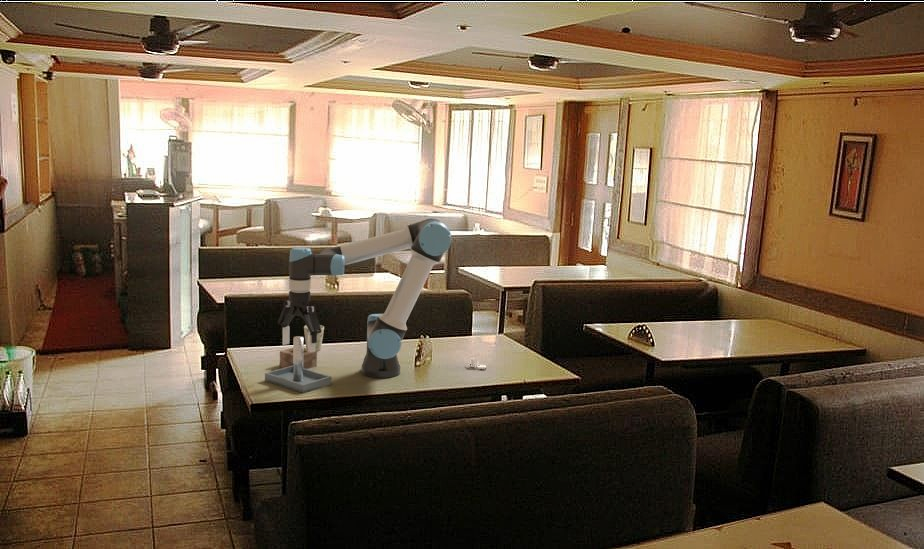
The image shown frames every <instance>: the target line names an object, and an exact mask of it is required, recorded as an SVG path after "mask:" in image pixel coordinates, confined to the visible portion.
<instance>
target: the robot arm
mask: <svg viewBox="0 0 924 549" xmlns="http://www.w3.org/2000/svg"><path fill="white" fill-rule="evenodd" d="M451 243H452V233H451V231H450V229H449V227H448V226H447V225H446V224H444V223H443V222H442V221H441V220H439V219H437V218H426V219H422V220H420V221H417V222H414V223H411V224H408V225H406V226H405V227H404V228H403V229H400V230H395V231H391V232H388V233H384V234H380V235H377V236H372V237H369V238H365V239H361V240H358V241H353V242H350V243H347V244H342V245H339V246H335V247H326V248H324V249H322V250H321V252H320V253H313V252H312V249H311V248H309V247H302V246H298V247H292V248H291V249H290V250H289V260H288V261H289V264H288V265H289V267H288V268H289V276H288V278H289V279H288V280H289V282H288V290H289V292H288V300H285V301H284V302H283V307H282V310H281V312H280V315H279V317H278V320H277V325H279V326H281V335H282V345H283V346H286V345H290V340H291V339H290V333H291V332H290V329H291V328H290V327H291V326H290V323H291V322H292V321H293V319H294V318H295V317H298V318H301V319H302V320H303V321H304V323H305V326H306V325H307V327H308V329H309V331H310V334H309V352H313V351H316V342H317V334H318V333H321V332H322V331H321V328H320V325H321V324H320V322H319V319H318V315H317V312H316V309H317V308H316V306H315V305H311V306H309V302H310V301H311V291H310V290H311V279H312V277H311V275H313V276H315V275H316V276H317V275H318V276H334V277H336V276H344V274H345V266H346V265H352V264H355V263H359V262H362V261H366V260H369V259H374V258H377V257H380V256H385V255H389V254H393V253H396V252H401V251H404V250H407V249H410V252H411V257H410V259H409V261H408V263H407V266H406V267H405V269H404V271H403V274H402V276H401V277H400V280H399V283H398V284H397V286H396V288H395V290H394V292H393V295H392V297H391V298H390V300H389V302H388V305H387V308H386V309H385V311H384V313H372V314H369V315H368V316H367V321H366V324H367V325H366V326H367V327H366V328H367V329H366V330H367V331H366V351H365V352H366V354H365V356H364V358H363V362H362V364H361V370H360V371H361V374H363V375H364V376H367V377H370V378H371V377H372V378H379V379H381V378H393V377H396V376H399V375H400V374H401V365H400V362H399V358H398V354H399V352H400V351H401V348H402V341H403V339H404V337H405V334H406V332H407V330H408V327H407V324H406V323H407V320H408V318H409V317H410V315H411V312H412V310H413V308H415V307H414V306H415V305H416V302H417V300H418V298H419V296H420V294H421V292H422V290H423V288H424V286H425V283H426V282H427V279H428V277H429V276H430V273H431V271H432V269H433V267H434V266H435V265H437V264H440V263H441V261H442V258H443V256H444V254H445V253H446V252H447V251H448V250H449V249H450V246H451ZM313 330H314V331H313Z"/></svg>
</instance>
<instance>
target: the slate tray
mask: <svg viewBox="0 0 924 549" xmlns="http://www.w3.org/2000/svg"><path fill="white" fill-rule="evenodd" d="M332 380H333V378H332V376H330V375H327V374H324V373H321V372H318V371H315V370H311V369H305V368H303V381H299V382H297V381H293V366H289V367H285V368H284V367H281V368H280V369H275V370H271V371H268V372H265V373H264V381H265V382H267V383H269V384H273V385H277V386H279V387H281V388H285V389H289V390H291V391H295V392H298V393H301V394H306V393H309V392H312V391H315V390H318V389H319V390H320V389H321V388H324V387H328V386H332V382H333V381H332Z"/></svg>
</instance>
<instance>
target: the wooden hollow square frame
mask: <svg viewBox="0 0 924 549" xmlns="http://www.w3.org/2000/svg"><path fill="white" fill-rule="evenodd" d="M317 360H318V351H313V352H309V349H306V347H304V351H303V368H305V369H308V370H310V369H311V368H316V367H317V364H318V362H317ZM289 366H293V348H288V349H283V350H281V351H279V367H281V368H285V367H289Z"/></svg>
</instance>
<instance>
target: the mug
mask: <svg viewBox="0 0 924 549" xmlns="http://www.w3.org/2000/svg"><path fill="white" fill-rule="evenodd" d="M320 328H321V331H322V332H321V333H318V334H317V342H316V351H317V352H320V351H321V350H322V343H323V338H324V330H325V326H324V325H322V324H320ZM303 330H304V331H303V332H304V339H305V340H304V341H305V348H306V349H309V334H310V331H309V329H308V327H307V325H306V324H305V325H304V326H303ZM313 331H314V330H313Z"/></svg>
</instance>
